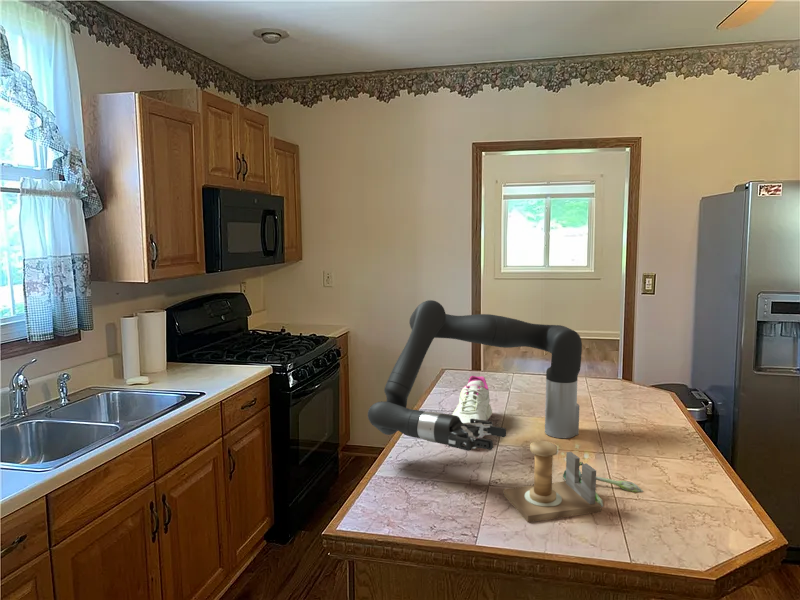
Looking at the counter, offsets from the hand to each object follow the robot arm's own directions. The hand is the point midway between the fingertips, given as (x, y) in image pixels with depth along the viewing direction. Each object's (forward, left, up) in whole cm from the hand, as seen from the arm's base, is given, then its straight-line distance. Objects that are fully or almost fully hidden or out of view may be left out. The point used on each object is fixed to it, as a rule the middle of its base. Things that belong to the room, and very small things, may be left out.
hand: (499, 438), depth 138 cm
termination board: (-10, +8, -14) cm, 19 cm away
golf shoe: (-8, -41, -14) cm, 44 cm away
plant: (-26, +6, -14) cm, 30 cm away
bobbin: (-7, +8, -12) cm, 16 cm away
